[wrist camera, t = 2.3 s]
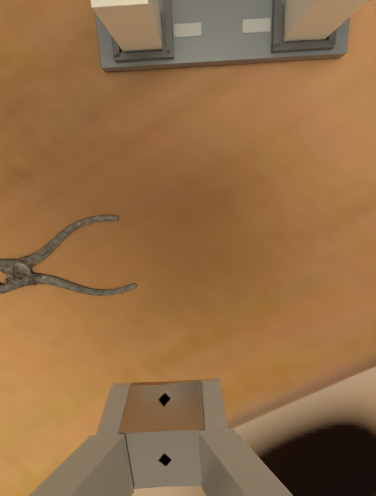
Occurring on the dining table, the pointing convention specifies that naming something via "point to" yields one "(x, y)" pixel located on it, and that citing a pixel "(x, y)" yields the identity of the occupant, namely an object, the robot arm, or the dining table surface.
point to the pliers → (24, 276)
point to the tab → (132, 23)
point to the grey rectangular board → (219, 37)
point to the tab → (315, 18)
